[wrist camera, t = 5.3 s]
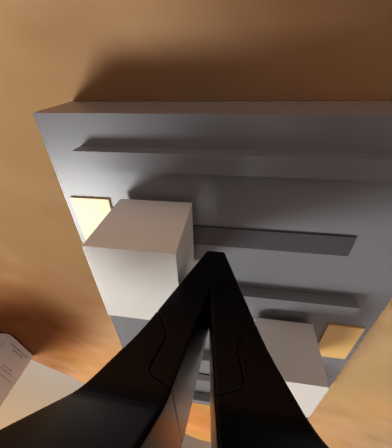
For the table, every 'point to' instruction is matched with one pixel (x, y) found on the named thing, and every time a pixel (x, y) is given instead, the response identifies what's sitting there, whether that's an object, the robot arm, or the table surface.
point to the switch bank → (249, 199)
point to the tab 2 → (296, 359)
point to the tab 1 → (141, 255)
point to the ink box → (11, 363)
